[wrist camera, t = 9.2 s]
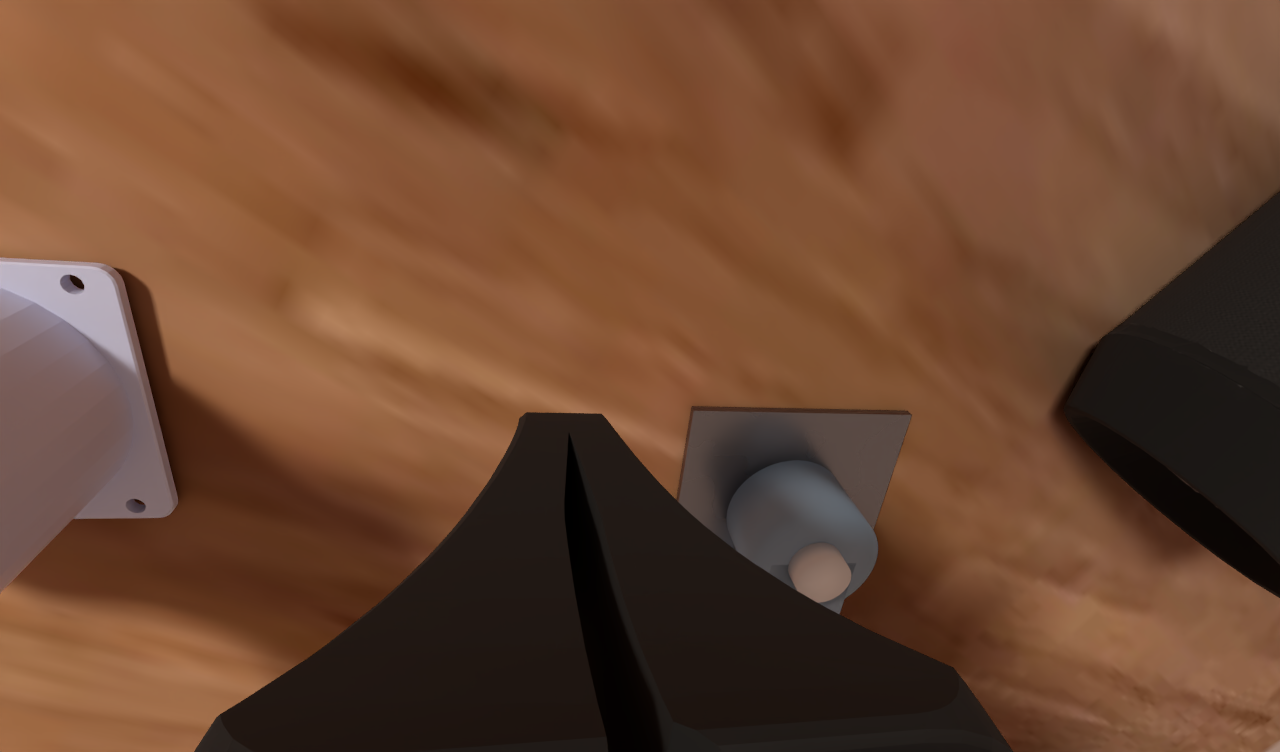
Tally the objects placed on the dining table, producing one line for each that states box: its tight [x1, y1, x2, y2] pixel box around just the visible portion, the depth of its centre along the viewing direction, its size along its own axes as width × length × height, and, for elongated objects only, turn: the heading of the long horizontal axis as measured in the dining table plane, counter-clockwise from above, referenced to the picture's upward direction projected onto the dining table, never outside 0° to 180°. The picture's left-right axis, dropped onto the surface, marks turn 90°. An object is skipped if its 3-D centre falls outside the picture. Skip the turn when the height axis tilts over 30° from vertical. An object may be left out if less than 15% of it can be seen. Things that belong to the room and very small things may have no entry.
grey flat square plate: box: [677, 406, 912, 550], centre depth 24 cm, size 8×8×1 cm
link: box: [726, 460, 878, 614], centre depth 25 cm, size 16×4×4 cm, turn 174°
